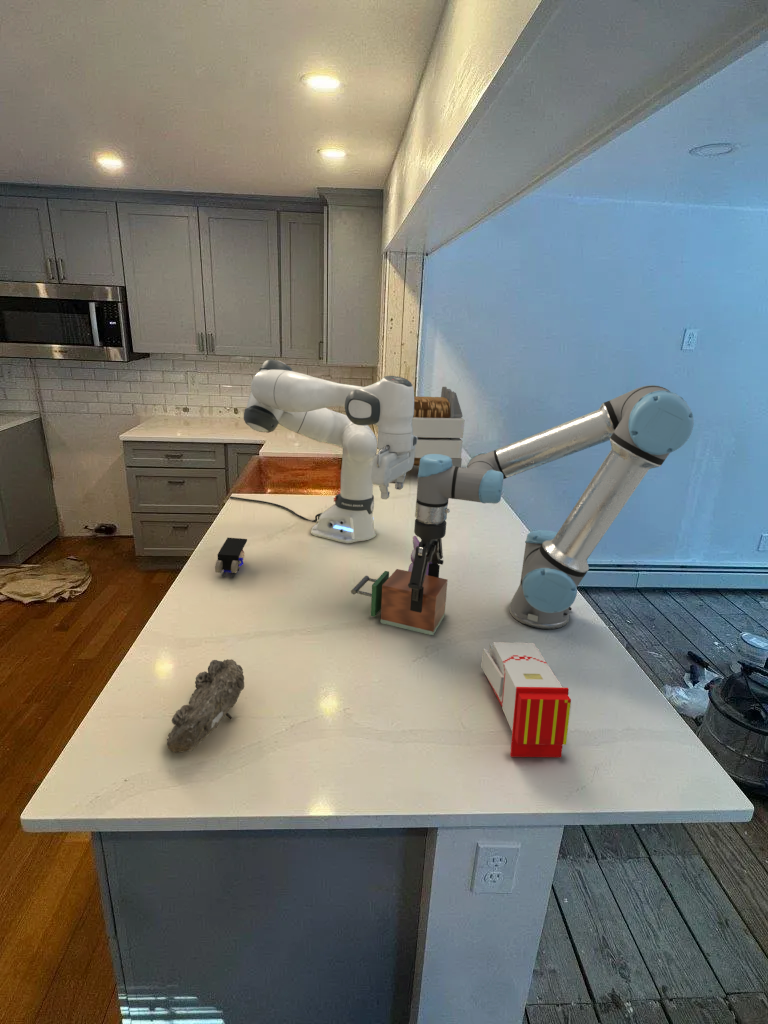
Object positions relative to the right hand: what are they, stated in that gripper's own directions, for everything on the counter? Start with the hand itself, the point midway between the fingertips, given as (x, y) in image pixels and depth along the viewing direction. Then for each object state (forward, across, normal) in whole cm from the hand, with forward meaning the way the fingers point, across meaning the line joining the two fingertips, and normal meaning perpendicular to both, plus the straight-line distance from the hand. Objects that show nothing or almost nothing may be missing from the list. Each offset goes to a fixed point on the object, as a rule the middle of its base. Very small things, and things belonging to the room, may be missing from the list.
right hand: (424, 598), depth 142 cm
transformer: (+7, +132, +44) cm, 139 cm away
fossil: (+7, -51, +26) cm, 57 cm away
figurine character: (+7, +4, +60) cm, 61 cm away
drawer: (+6, 0, +9) cm, 11 cm away
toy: (+7, -24, -28) cm, 37 cm away
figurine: (+7, +19, +7) cm, 21 cm away
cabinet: (+7, 0, +3) cm, 7 cm away
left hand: (-22, +11, +14) cm, 29 cm away
